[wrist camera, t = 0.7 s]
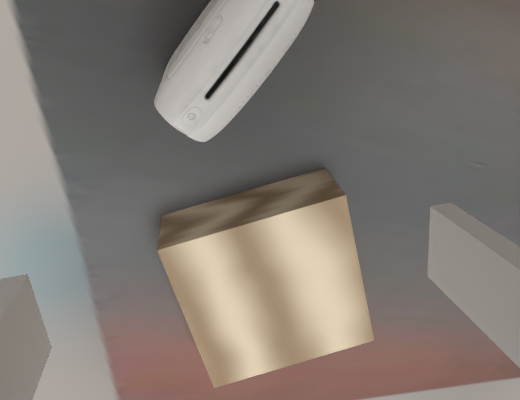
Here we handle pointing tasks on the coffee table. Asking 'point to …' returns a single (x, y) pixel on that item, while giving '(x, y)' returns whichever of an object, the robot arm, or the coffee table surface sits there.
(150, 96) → the coffee table surface
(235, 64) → the photo printer
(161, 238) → the birch box
